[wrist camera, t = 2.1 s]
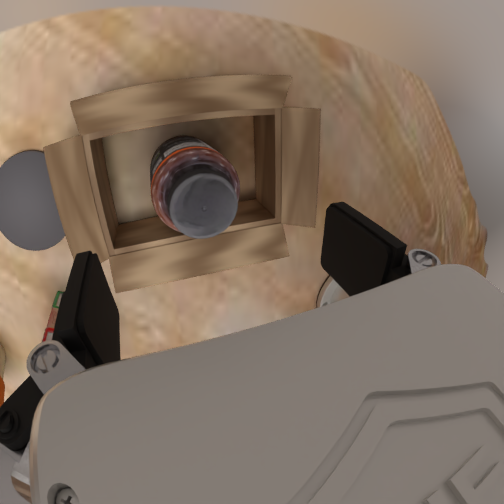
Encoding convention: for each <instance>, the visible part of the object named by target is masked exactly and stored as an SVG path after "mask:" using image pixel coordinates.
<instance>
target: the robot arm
mask: <svg viewBox="0 0 504 504" xmlns="http://www.w3.org/2000/svg"><path fill="white" fill-rule="evenodd" d="M406 247H407V245H406V244H404V243H403V242H402V241H400V240H399V239H398V238H396V237H395V236H393V235H392V234H391V233H389V232H388V231H386V230H385V229H383V228H382V227H381V226H379V225H378V224H376V223H375V222H373V221H372V220H370V219H369V218H367V217H366V216H364V215H363V214H361V213H360V212H358V211H357V210H355V209H354V208H352V207H351V206H349V205H348V204H346V203H345V202H339V203H332V204H330V206H329V207H328V208H327V210H326V217H325V227H324V236H323V245H322V254H321V265H322V267H323V269H324V270H325V271H326V272H327V273H328V274H329V275H330V277H329V278H328V279H327V281H326V282H325V284H324V285H323V287H322V289H321V291H320V294H319V296H318V301H317V308H316V309H313V310H310V311H306V312H303V313H300V314H297V315H294V316H291V317H287V318H284V319H281V320H277V321H274V322H271V323H267V324H264V325H260V326H257V327H253V328H250V329H246V330H243V331H239V332H235V333H232V334H228V335H224V336H220V337H217V338H213V339H209V340H205V341H201V342H197V343H193V344H189V345H185V346H180V347H176V348H172V349H167V350H163V351H158V352H154V353H149V354H145V355H141V356H136V357H132V358H128V359H123V360H120V333H119V312H118V308H117V306H116V303H115V301H114V298H113V296H112V293H111V291H110V288H109V286H108V283H107V280H106V277H105V275H104V272H103V269H102V266H101V263H100V261H99V258H98V255H97V253H94V254H93V253H92V252H91V251H85V252H81V253H77V254H76V256H75V260H74V263H73V266H72V269H71V273H70V276H69V280H68V284H67V287H66V291H65V292H63V294H62V297H61V301H60V305H59V309H58V313H57V317H56V322H55V326H54V331H53V336H52V340H47V341H44V342H42V343H40V344H38V345H37V346H36V347H35V348H34V349H33V350H32V351H31V352H30V354H29V356H28V359H27V369H28V372H29V374H30V376H29V377H28V378H27V379H26V380H25V381H24V382H23V383H22V384H21V385H20V386H19V387H18V388H17V390H16V391H15V392H14V393H13V394H12V395H11V396H10V397H9V398H8V399H7V400H6V401H5V402H4V403H3V404H2V405H1V407H0V504H504V293H503V292H501V291H500V290H499V289H498V288H497V287H495V286H494V285H493V284H492V283H491V282H490V281H488V280H487V279H486V278H484V277H483V276H482V275H481V274H479V273H478V272H476V271H475V270H473V269H472V268H470V267H468V266H464V265H459V264H444V265H441V262H440V260H439V258H438V257H437V256H436V255H434V254H433V253H431V252H429V251H427V250H423V249H413V250H410V252H409V253H408V256H407V255H405V251H406Z"/></svg>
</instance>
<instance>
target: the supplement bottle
mask: <svg viewBox="0 0 504 504" xmlns="http://www.w3.org/2000/svg"><path fill="white" fill-rule="evenodd" d="M150 180H151V198H152V203H153V206H154V208H155V211H156V213H157V214H158V216H159V217H160V219H161V220H162V221H163V222H164V223H165V224H166V225H167V226H169V227H170V228H172V229H174V230H176V231H178V232H181V233H183V234H185V235H186V236H189V237H191V238H196V239H205V238H210V237H214V236H216V235H218V234H220V233H222V232H223V231H225V230H226V229H227V228H228V227H229V225H230V224H231V223H232V221H233V220H234V218H235V216H236V213H237V208H238V200H239V193H240V184H239V179H238V175H237V173H236V171H235V169H234V167H233V166H232V164H231V163H230V162H229V161H228V160H227V159H226V158H225V157H224V156H222V155H221V154H220V153H219V152H217V151H216V150H215V149H214V148H212V147H210V146H209V145H208V144H206V143H205V142H203V141H201V140H199V139H197V138H195V137H191V136H178V137H174V138H172V139H169V140H168V141H166V142H164V143H163V144H162V145H161V146H160V147H159V148H158V149H157V151H156V152H155V154H154V156H153V159H152V162H151V167H150Z"/></svg>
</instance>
